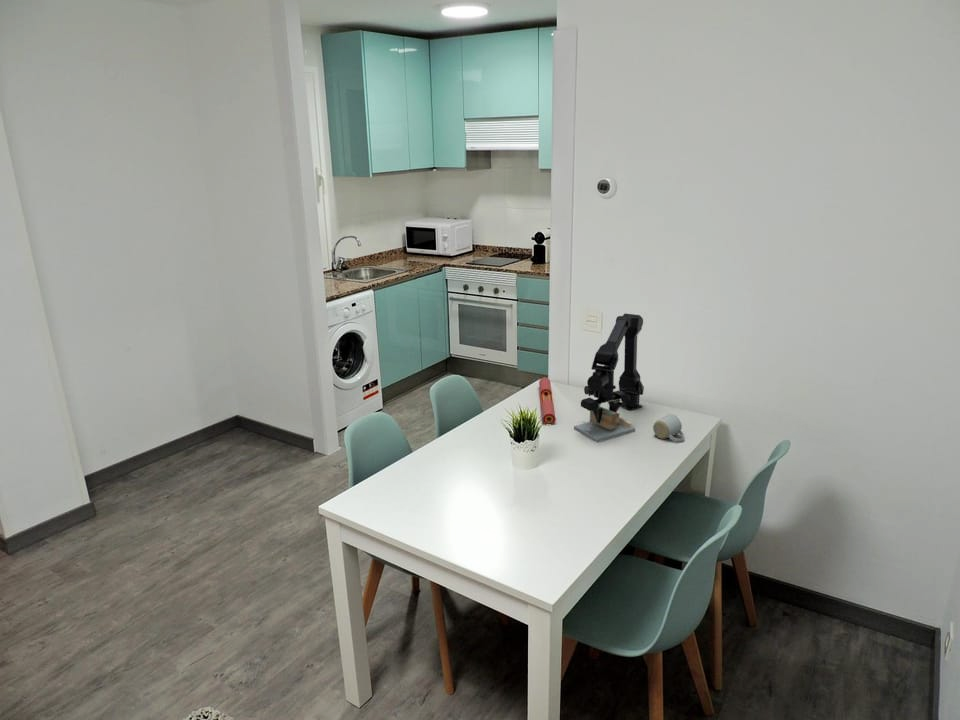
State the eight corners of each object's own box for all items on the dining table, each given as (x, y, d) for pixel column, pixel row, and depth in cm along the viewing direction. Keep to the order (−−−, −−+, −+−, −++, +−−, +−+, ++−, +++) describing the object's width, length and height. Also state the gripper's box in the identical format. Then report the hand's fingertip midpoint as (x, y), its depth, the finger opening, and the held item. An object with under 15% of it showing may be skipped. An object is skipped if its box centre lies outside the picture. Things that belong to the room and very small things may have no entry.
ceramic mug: (650, 436, 243) (652, 417, 240) (663, 429, 248) (665, 411, 245) (675, 445, 235) (677, 426, 233) (688, 438, 240) (690, 419, 238)
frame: (598, 418, 254) (599, 405, 252) (618, 425, 246) (619, 412, 245) (589, 421, 251) (590, 408, 249) (610, 429, 243) (610, 416, 242)
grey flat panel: (611, 418, 259) (611, 411, 258) (635, 431, 247) (635, 423, 246) (573, 428, 251) (574, 421, 250) (596, 442, 239) (596, 434, 238)
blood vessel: (539, 387, 296) (539, 377, 294) (550, 387, 296) (550, 377, 294) (542, 425, 256) (542, 413, 254) (555, 425, 256) (555, 413, 254)
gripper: (611, 372, 254) (610, 409, 259) (572, 381, 246) (571, 419, 251) (630, 380, 245) (629, 418, 250) (590, 389, 237) (589, 429, 241)
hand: (604, 421), depth 248 cm, fingers closed on frame, 5 cm apart
